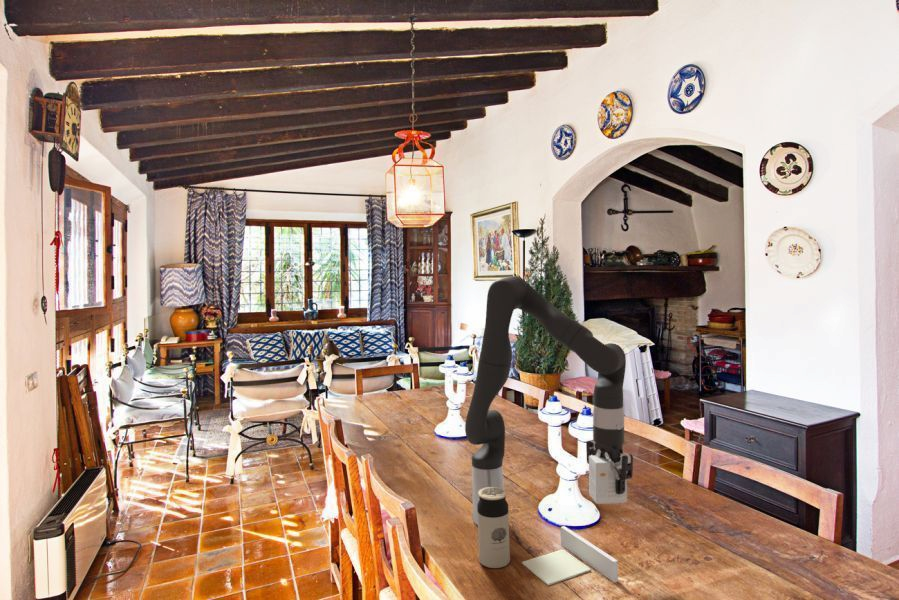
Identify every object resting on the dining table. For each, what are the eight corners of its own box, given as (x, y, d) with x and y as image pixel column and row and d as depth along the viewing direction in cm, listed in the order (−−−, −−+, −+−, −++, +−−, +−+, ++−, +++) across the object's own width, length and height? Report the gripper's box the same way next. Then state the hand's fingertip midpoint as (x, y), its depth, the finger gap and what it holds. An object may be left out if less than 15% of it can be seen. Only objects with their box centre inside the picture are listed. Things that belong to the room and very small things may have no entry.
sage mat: (521, 563, 132) (521, 561, 132) (562, 550, 138) (562, 549, 137) (548, 585, 122) (548, 584, 122) (591, 570, 128) (590, 569, 128)
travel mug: (477, 553, 137) (475, 487, 137) (506, 551, 138) (504, 485, 137) (481, 570, 129) (479, 499, 129) (512, 568, 130) (510, 497, 129)
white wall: (561, 545, 140) (560, 527, 140) (564, 544, 141) (564, 526, 141) (614, 582, 122) (613, 561, 122) (618, 581, 123) (617, 560, 123)
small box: (618, 493, 134) (618, 453, 133) (627, 503, 128) (627, 461, 128) (588, 495, 133) (588, 454, 133) (596, 504, 128) (595, 462, 127)
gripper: (577, 418, 135) (578, 481, 135) (618, 433, 122) (618, 502, 123) (599, 414, 138) (599, 475, 139) (641, 428, 125) (641, 495, 126)
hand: (608, 487), depth 131 cm, fingers closed on small box, 7 cm apart
